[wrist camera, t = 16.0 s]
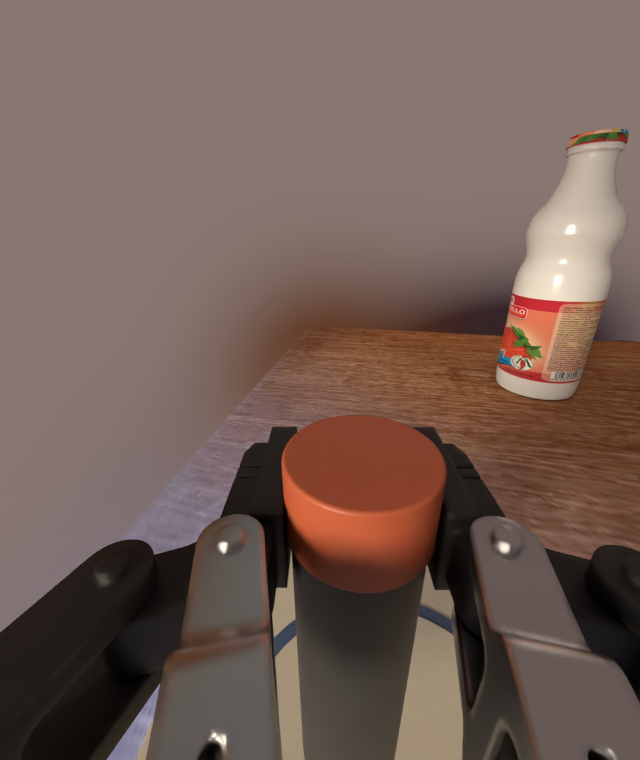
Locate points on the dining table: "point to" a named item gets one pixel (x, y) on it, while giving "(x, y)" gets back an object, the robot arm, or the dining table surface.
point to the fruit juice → (565, 273)
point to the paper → (423, 692)
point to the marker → (358, 574)
